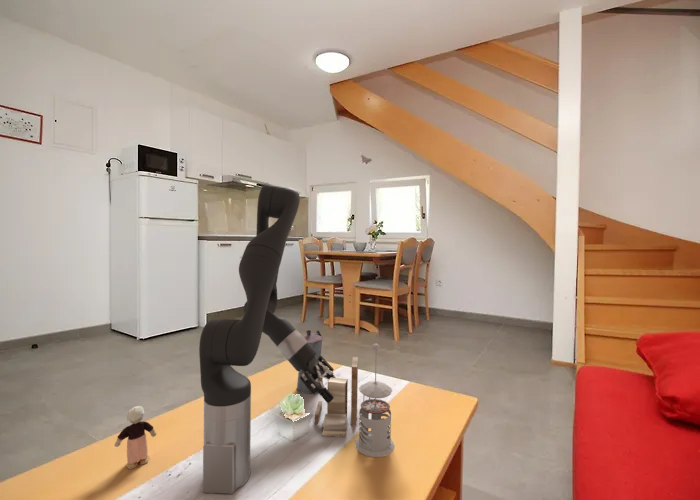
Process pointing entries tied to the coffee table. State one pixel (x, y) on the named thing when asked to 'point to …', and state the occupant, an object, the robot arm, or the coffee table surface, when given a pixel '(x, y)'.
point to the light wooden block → (337, 396)
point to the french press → (375, 419)
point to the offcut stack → (335, 425)
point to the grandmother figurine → (136, 437)
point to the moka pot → (316, 343)
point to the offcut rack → (353, 396)
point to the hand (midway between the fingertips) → (335, 393)
